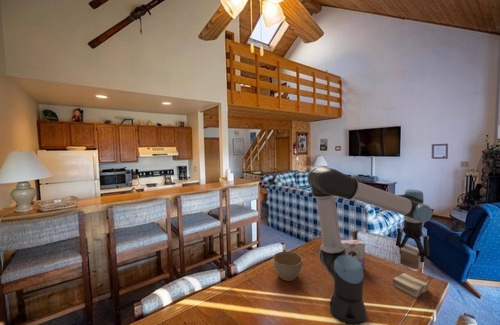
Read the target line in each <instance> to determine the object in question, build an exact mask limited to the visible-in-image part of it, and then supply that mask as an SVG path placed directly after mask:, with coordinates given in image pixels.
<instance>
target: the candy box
mask: <svg viewBox="0 0 500 325" xmlns="http://www.w3.org/2000/svg"><path fill="white" fill-rule="evenodd" d="M341 243H343V244H344V246H345V251H346V256H350V257H352V258H355V259H356V260H358V261H359V262H360V263H361V265H362V267H363V271H365V245H366V244H365V243H364V242H363V241H362V240H361V239H341Z"/></svg>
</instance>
